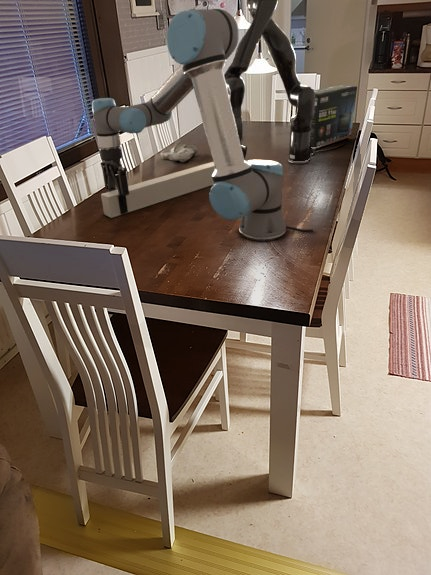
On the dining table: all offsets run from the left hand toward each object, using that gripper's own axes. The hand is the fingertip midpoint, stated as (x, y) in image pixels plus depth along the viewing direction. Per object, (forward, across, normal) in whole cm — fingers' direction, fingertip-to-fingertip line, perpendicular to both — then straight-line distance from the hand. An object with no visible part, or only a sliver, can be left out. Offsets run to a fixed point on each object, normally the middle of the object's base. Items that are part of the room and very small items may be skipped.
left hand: (120, 210), depth 169 cm
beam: (+1, 0, -29) cm, 29 cm away
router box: (+1, +4, -130) cm, 130 cm away
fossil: (0, +41, -60) cm, 73 cm away
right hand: (-3, 0, -59) cm, 59 cm away
